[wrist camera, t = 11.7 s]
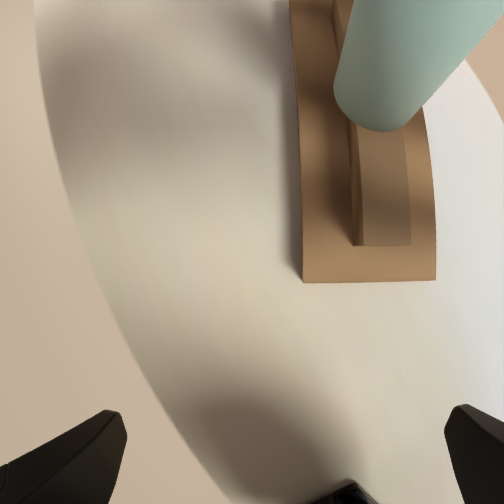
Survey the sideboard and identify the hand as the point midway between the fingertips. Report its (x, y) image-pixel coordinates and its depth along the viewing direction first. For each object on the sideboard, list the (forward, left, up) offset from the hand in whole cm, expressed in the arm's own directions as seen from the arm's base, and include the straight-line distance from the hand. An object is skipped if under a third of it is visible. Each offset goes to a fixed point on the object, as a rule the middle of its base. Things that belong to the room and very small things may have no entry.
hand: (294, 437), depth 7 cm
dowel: (+7, -11, -8) cm, 16 cm away
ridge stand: (+7, -11, -12) cm, 18 cm away
